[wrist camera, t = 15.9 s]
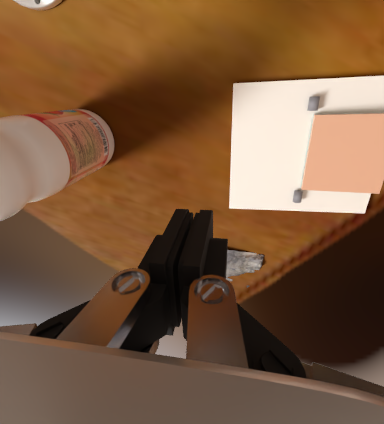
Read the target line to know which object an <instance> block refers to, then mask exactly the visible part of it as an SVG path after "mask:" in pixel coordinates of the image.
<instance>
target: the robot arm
mask: <svg viewBox="0 0 384 424" xmlns="http://www.w3.org/2000/svg"><path fill="white" fill-rule="evenodd" d="M13 1H15V2H17V3H18V4H20V5H22V6H25V7H27V8H30V9H35V10H47V9H50V8H53V7H55V6H56V5H58V4H59V3H61V1H62V0H13ZM227 245H228V239H220V238H213V210H200V213H196V214H195V216H194V219H193V213H189V210H188V209H176V210H175V212H174V214H173V216H172V218H171V220H170V222H169V224H168V226H167V228H166V229H165V231H164V233H163V235H156V237H155V238H154V240H153V242H152V244H151V245H150V247H149V249H148V251H147V252H146V254H145V256H144V258H143V259H142V261H141V263H140V265H139V266H138V268H131V269H125V270H122V271H120V272H118V273H116V274H115V275H114V276H113V277H111V278H110V279H109V281H108V282H107V283H106V284H105V285H104V286H103V287H102V288H101V290H100V291H99V292H98V293H97V294H96V295H95V296H94V297H93V298H92V300H90V301H87V302H85V303H84V304H81V305H79V306H77V307H74V308H72V309H70V310H68V311H66V312H63V313H61V314H59V315H57V316H55V317H53V318H50V319H48V320H47V321H45V322H43V323H41V324H40V325H39V326H37V324H24V325H12V326H2V327H0V424H384V387H383V386H380V385H377V384H374V383H372V382H369V381H366V380H363V379H360V378H357V377H354V376H351V375H349V374H346V373H343V372H340V371H337V370H334V369H332V368H329V367H326V366H323V365H320V364H317V363H314V362H313V363H312V366H311V365H308V364H305V363H303V362H301V361H300V360H299V359H298V357H297V356H296V355H295V354H294V353H293V352H292V351H291V350H290V349H289V348H287V347H286V346H285V345H284V344H283V343H282V342H281V341H279V340H278V339H277V338H276V337H275V336H274V335H272V333H270V332H269V331H268V330H267V329H266V328H265V327H263V326H262V325H261V324H260V323H259V322H258V321H257V320H255V318H253V317H252V316H251V315H250V314H249V313H248V312H247V311H245V310H244V309H243V308H242V307H241V306H240V305H239V304H237V303H236V297H235V292H234V288H233V286H232V284H231V283H230V282H229V281H228V280H227V279H226V270H227ZM181 319H182V325H183V334H184V338H185V339H186V341H187V349H186V350H187V351H186V359H183V358H176V357H170V356H163V355H157V354H155V353H156V351H157V349H158V346H159V339H160V338H162V337H163V336H165V335H173V332H174V328H175V327H179V326H180V323H181Z"/></svg>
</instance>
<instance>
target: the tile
mask: <svg viewBox="0 0 384 424" xmlns="http://www.w3.org/2000/svg"><path fill="white" fill-rule="evenodd" d="M383 181H384V113H350V114H313V119H312V125H311V131H310V136H309V142H308V148H307V153H306V159H305V165H304V171H303V176H302V182H301V189H302V190H314V191H334V192H354V193H374V194H379V193H380V190H381V187H382V184H383Z"/></svg>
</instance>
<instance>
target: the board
mask: <svg viewBox="0 0 384 424" xmlns="http://www.w3.org/2000/svg"><path fill="white" fill-rule="evenodd" d="M350 113H384V76H366V77H347V78H327V79H308V80H289V81H270V82H251V83H233V110H232V141H231V172H230V203H229V208H235V209H262V210H289V211H316V212H343V213H365V211H366V208H367V205H368V202H369V199H370V196H371V193H354V192H334V191H314V190H302V189H301V182H302V176H303V171H304V165H305V159H306V153H307V148H308V142H309V136H310V131H311V125H312V119H313V114H350Z"/></svg>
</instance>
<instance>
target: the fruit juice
mask: <svg viewBox="0 0 384 424" xmlns="http://www.w3.org/2000/svg"><path fill="white" fill-rule="evenodd" d="M113 153H114V138H113V134H112V132H111V130H110V128H109V126H108V125H107V123H106V122H105V121H104V120H103V119H102V118H101V117H100V116H98V115H97V114H95V113H93V112H91V111H88V110H83V109H72V110H63V111H54V112H45V113H36V114H27V115H16V116H8V117H3V118H0V221H2V220H4V219H6V218H9V217H10V216H13V215H14V214H16V213H17V212H18V211H20V210H21V209H22V208H23V207H24V206H25V205H26V204H27V203H28V202H35V201H39V200H42V199H45V198H47V197H49V196H51V195H53V194H55V193H57V192H59V191H61V190H62V189H64V188H66V187H68V186H69V185H71V184H73V183H75V182H77V181H78V180H80V179H82V178H84V177H86V176H87V175H89V174H91V173H93V172H95V171H96V170H98V169H100V168H102V167H103V166H105V165H106V164H107V163H108V162H109V161H110V159H111V158H112V155H113Z"/></svg>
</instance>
